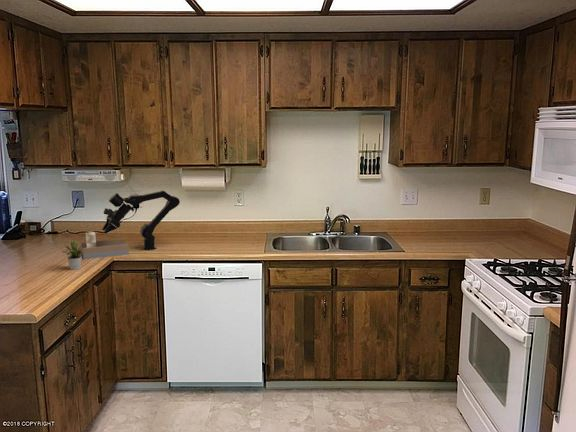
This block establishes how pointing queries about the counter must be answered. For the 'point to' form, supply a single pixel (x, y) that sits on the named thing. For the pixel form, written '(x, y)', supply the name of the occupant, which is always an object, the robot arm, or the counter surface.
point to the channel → (105, 249)
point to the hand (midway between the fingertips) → (103, 231)
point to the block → (90, 240)
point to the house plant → (74, 256)
